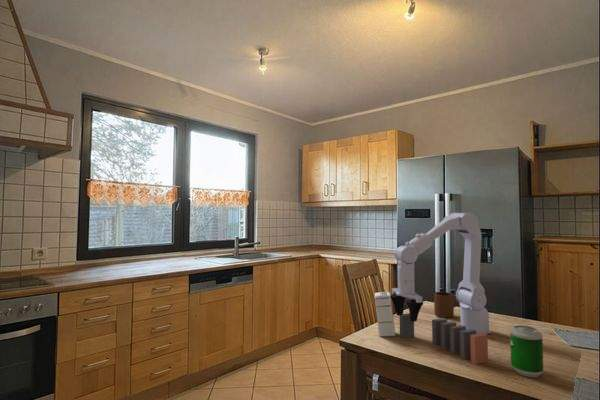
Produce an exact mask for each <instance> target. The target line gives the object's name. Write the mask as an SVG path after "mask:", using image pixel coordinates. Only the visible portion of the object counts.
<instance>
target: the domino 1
mask: <svg viewBox="0 0 600 400" xmlns="http://www.w3.org/2000/svg"><path fill="white" fill-rule="evenodd" d="M414 337H415V322H411V320H410V312H409V313H403V314H401V315H400V316H399V338H401V339H403V340H404V339H409V338H410V339H411V338H414Z"/></svg>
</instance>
